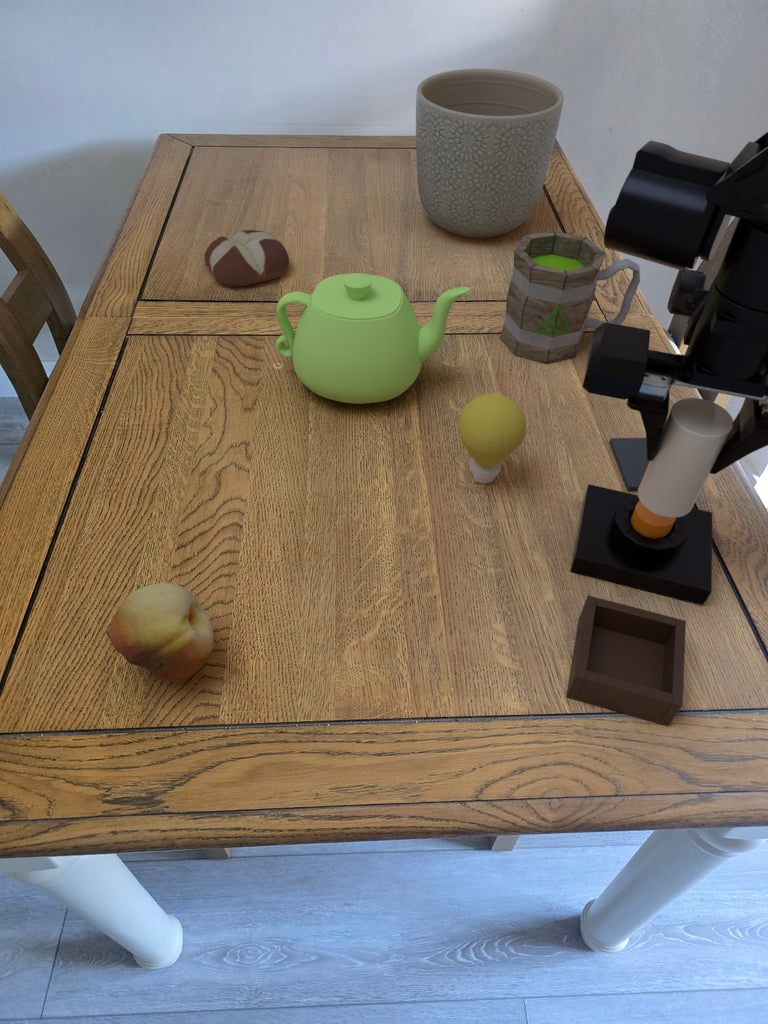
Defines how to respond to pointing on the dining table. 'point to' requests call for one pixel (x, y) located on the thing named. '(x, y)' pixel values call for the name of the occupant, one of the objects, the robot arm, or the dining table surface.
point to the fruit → (163, 631)
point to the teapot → (360, 337)
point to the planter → (484, 147)
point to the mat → (630, 460)
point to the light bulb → (490, 433)
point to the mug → (557, 295)
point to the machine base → (643, 548)
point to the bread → (246, 258)
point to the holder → (628, 661)
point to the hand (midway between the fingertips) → (680, 463)
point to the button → (650, 522)
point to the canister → (684, 456)
